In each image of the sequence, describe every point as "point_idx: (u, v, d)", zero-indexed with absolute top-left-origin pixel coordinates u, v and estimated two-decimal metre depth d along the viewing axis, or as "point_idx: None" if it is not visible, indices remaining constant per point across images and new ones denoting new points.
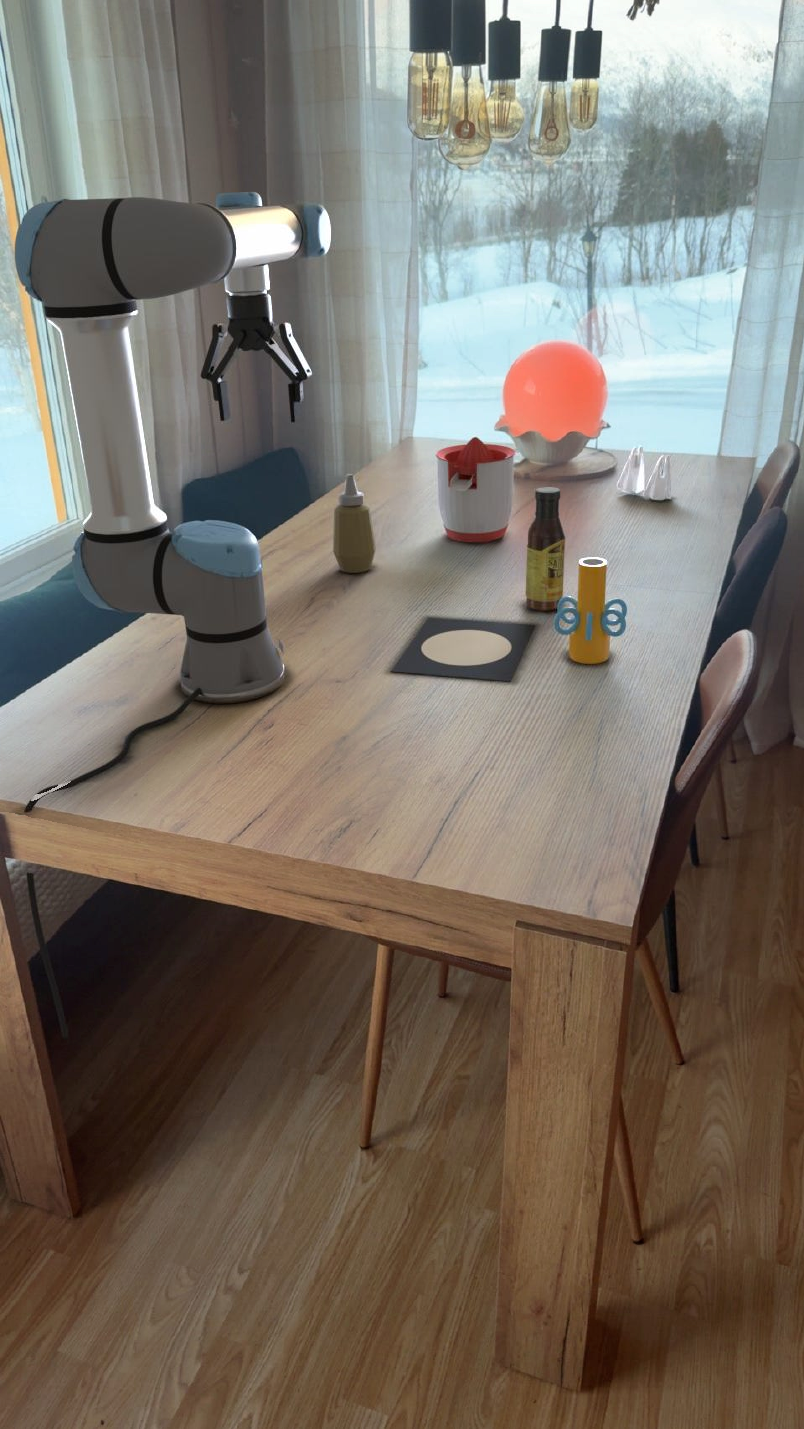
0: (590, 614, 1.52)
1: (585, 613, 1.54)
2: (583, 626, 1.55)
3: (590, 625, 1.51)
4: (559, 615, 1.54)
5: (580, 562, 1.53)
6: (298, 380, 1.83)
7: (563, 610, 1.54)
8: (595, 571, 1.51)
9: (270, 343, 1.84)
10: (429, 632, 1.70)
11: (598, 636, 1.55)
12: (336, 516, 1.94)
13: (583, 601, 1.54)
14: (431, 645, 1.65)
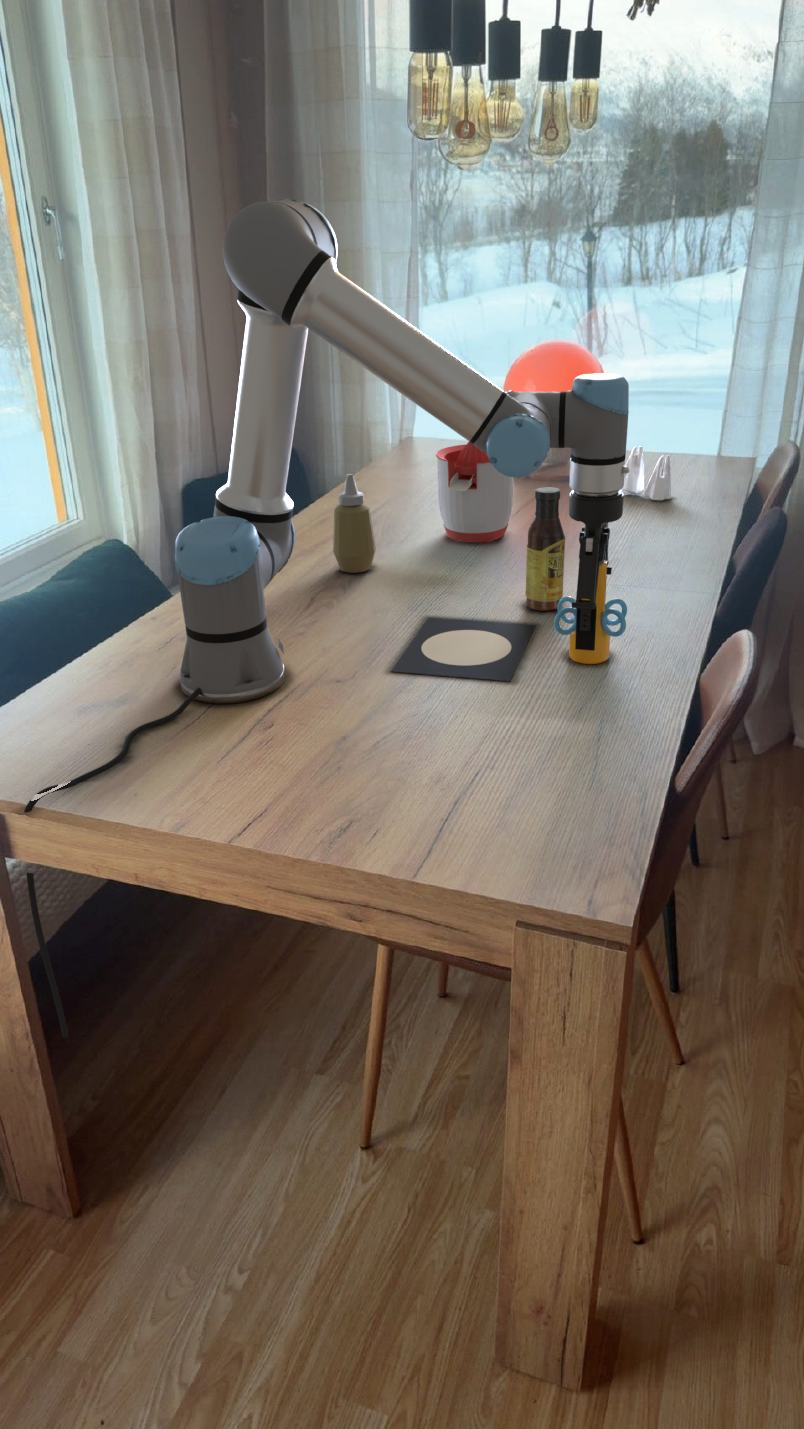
0: None
1: None
2: None
3: None
4: (559, 615, 1.54)
5: None
6: None
7: (563, 610, 1.54)
8: None
9: None
10: (429, 632, 1.70)
11: (598, 636, 1.55)
12: (336, 516, 1.94)
13: None
14: (431, 645, 1.65)
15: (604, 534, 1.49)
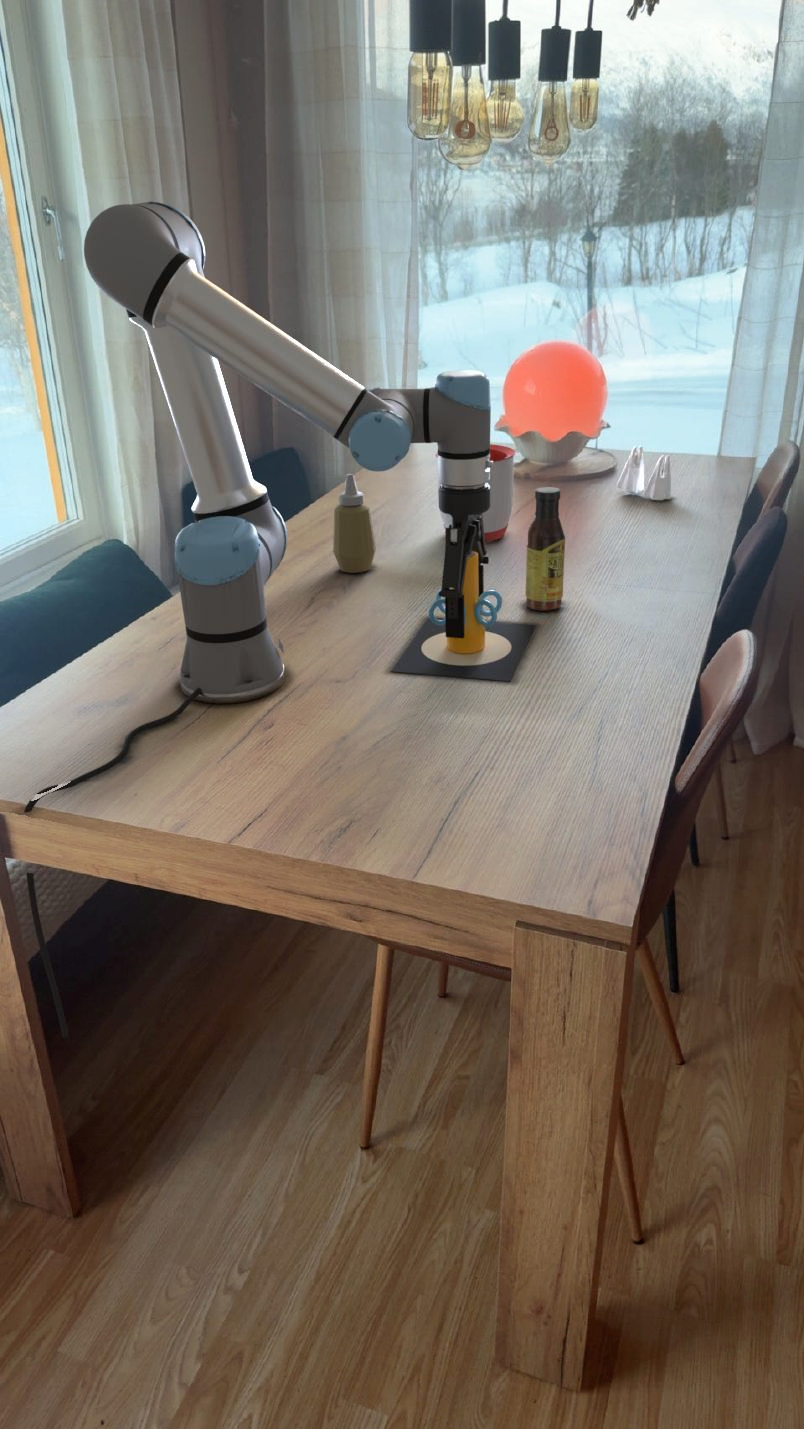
0: None
1: None
2: None
3: None
4: (433, 606, 1.59)
5: None
6: None
7: (437, 601, 1.59)
8: None
9: None
10: (429, 632, 1.70)
11: (471, 626, 1.60)
12: (336, 516, 1.94)
13: None
14: (431, 645, 1.65)
15: (472, 526, 1.54)
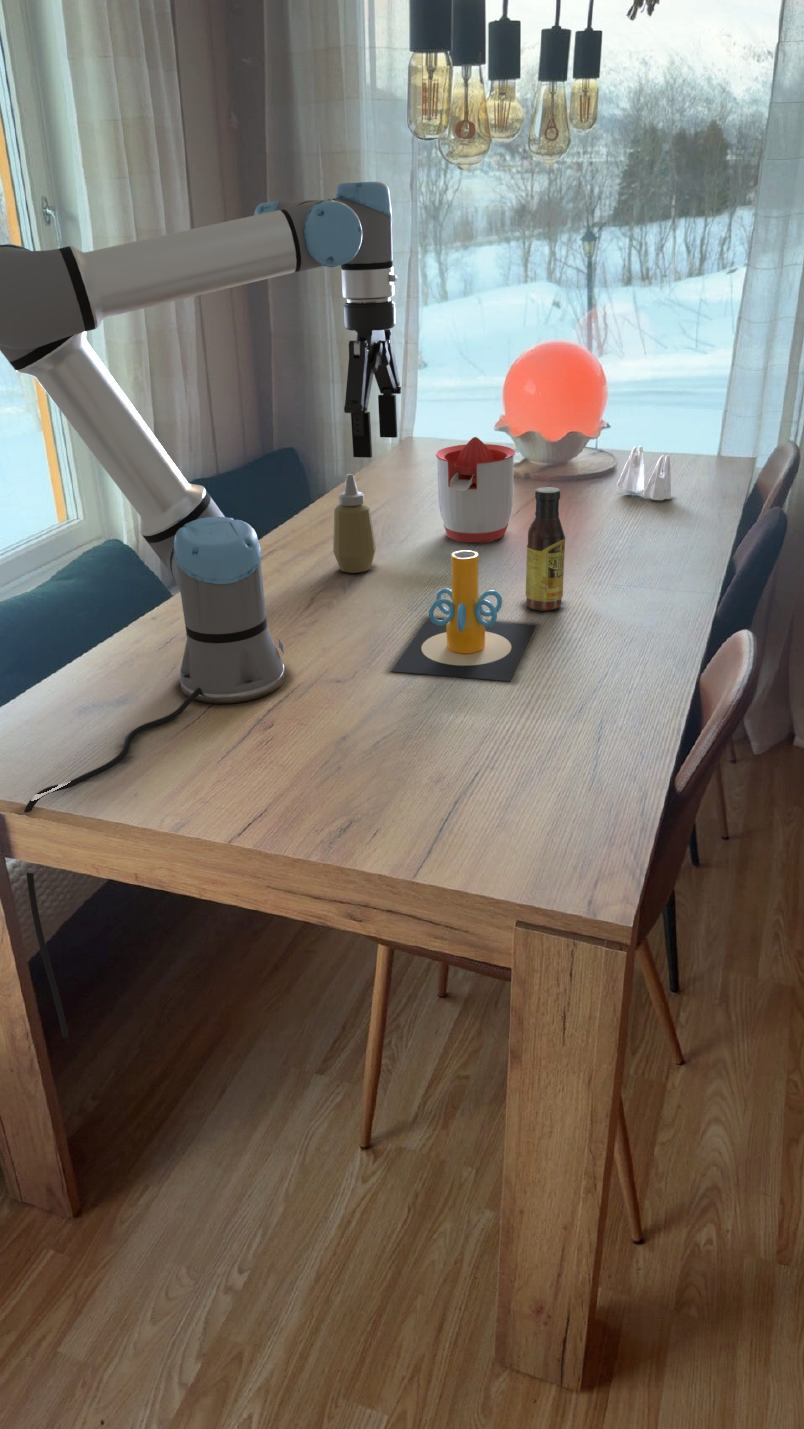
0: (461, 605, 1.57)
1: (459, 604, 1.59)
2: None
3: (461, 615, 1.56)
4: (433, 606, 1.59)
5: (452, 555, 1.58)
6: None
7: (437, 601, 1.59)
8: (465, 563, 1.56)
9: None
10: (429, 632, 1.70)
11: (471, 626, 1.60)
12: (336, 516, 1.94)
13: (456, 592, 1.59)
14: (431, 645, 1.65)
15: (378, 344, 1.55)
